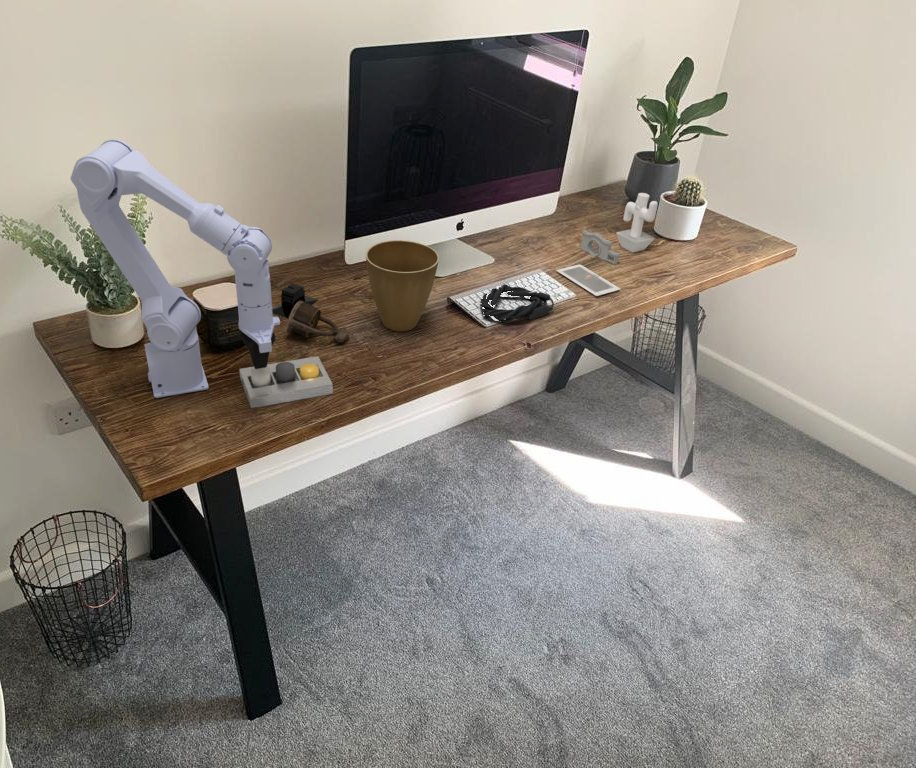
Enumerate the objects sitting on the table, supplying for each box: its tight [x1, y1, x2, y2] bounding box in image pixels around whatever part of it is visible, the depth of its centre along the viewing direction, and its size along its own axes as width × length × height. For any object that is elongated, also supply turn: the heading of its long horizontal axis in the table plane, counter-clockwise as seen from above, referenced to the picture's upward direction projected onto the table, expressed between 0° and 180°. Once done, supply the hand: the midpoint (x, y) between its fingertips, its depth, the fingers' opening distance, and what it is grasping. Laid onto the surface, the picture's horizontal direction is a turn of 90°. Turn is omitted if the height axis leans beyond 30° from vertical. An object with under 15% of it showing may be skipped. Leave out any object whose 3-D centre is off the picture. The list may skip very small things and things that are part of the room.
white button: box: [251, 366, 272, 389], centre depth 147 cm, size 3×3×3 cm
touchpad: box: [555, 263, 621, 297], centre depth 195 cm, size 8×15×2 cm, turn 34°
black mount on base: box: [272, 282, 320, 319], centre depth 175 cm, size 13×8×5 cm, turn 154°
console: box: [239, 356, 334, 409], centre depth 150 cm, size 15×10×2 cm, turn 113°
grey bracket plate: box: [580, 229, 621, 266], centre depth 207 cm, size 12×2×6 cm, turn 42°
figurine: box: [615, 192, 659, 254], centre depth 210 cm, size 7×9×15 cm
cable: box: [479, 283, 555, 323], centre depth 180 cm, size 17×14×4 cm
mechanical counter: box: [284, 301, 350, 344], centre depth 164 cm, size 7×13×10 cm
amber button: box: [300, 363, 319, 380], centre depth 151 cm, size 3×3×3 cm
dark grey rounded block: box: [276, 361, 296, 384], centre depth 149 cm, size 3×3×3 cm
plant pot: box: [365, 239, 440, 332], centre depth 168 cm, size 15×15×16 cm
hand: (260, 366), depth 146 cm, fingers closed
